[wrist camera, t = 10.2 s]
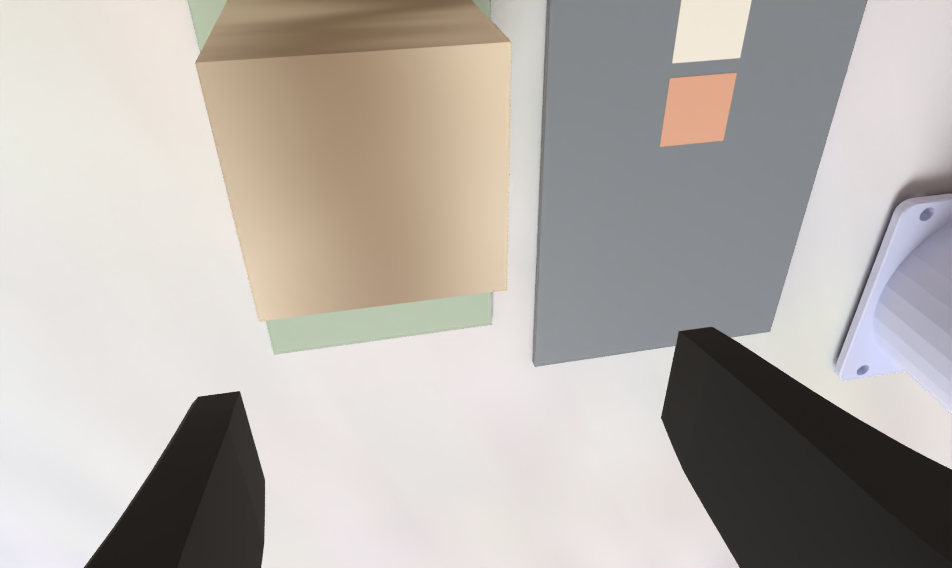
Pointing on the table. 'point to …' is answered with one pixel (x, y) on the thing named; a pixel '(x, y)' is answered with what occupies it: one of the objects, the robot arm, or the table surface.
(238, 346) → the table surface
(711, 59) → the grey plate
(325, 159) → the maple block
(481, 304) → the mat
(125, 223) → the table surface
